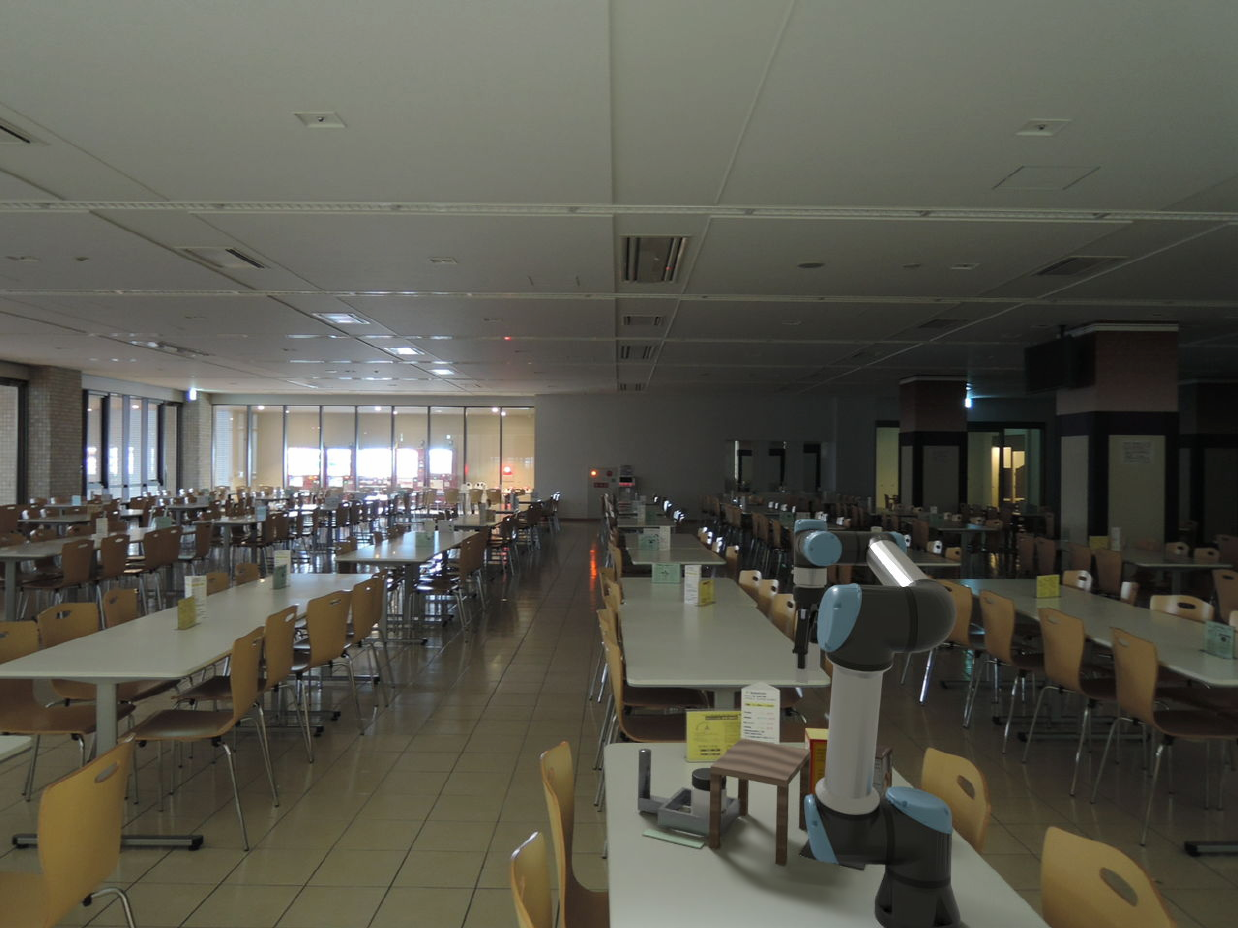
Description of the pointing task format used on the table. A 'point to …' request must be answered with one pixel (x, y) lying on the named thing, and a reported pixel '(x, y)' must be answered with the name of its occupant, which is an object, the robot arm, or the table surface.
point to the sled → (678, 805)
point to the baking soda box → (816, 754)
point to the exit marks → (673, 838)
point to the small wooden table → (762, 767)
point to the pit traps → (808, 853)
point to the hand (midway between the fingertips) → (808, 676)
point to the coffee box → (882, 770)
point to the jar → (704, 792)
